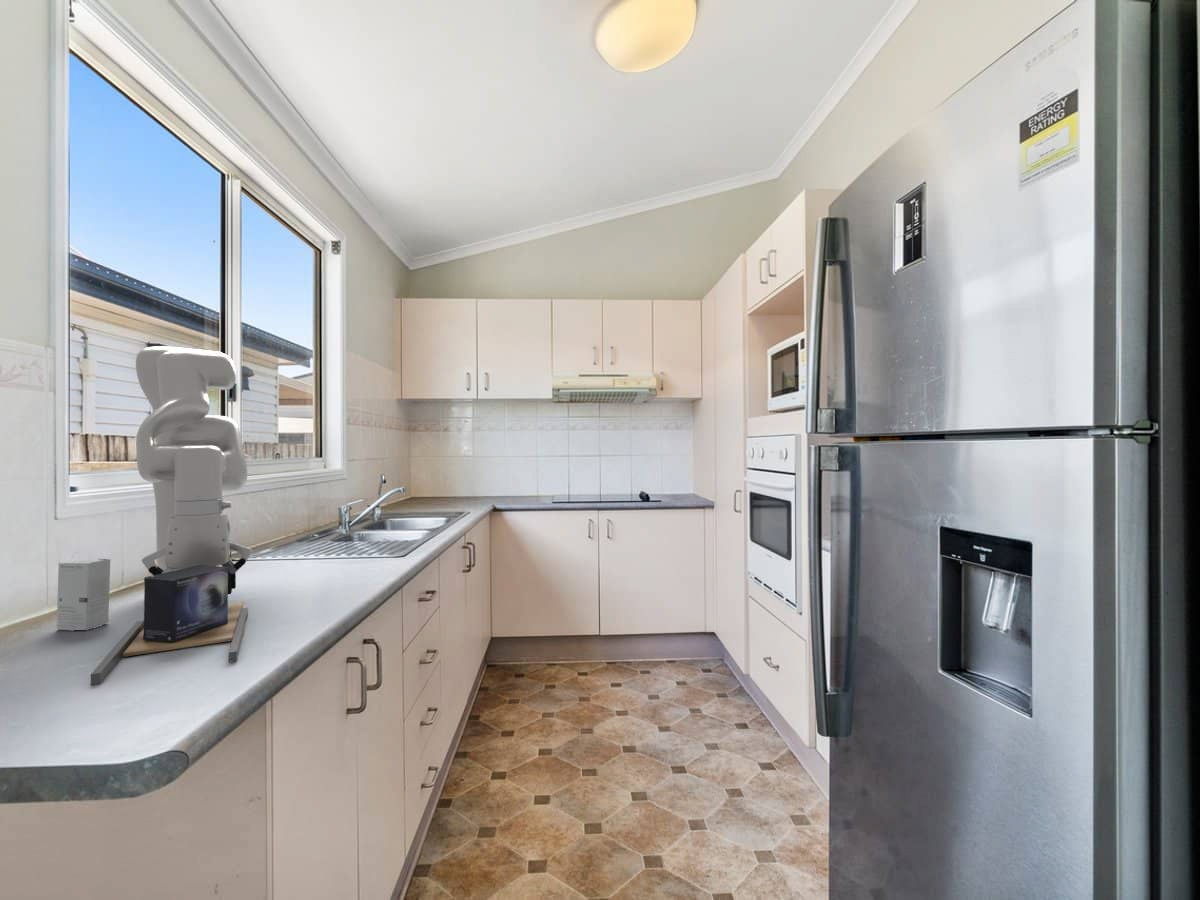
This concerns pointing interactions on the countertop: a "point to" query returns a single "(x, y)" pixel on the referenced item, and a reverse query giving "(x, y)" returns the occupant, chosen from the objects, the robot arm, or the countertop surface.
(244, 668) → the countertop surface
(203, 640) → the thin plywood board
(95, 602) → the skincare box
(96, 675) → the guide rails
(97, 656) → the countertop surface
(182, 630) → the small box
